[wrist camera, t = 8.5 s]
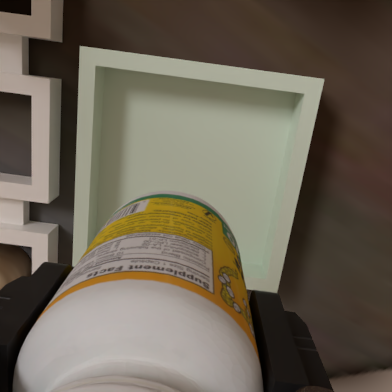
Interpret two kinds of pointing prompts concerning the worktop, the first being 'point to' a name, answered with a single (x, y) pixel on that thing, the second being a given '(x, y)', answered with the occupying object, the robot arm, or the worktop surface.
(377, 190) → the worktop surface
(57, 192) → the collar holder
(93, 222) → the sage tray
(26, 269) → the beech peg outer
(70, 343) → the supplement bottle
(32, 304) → the robot arm
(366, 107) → the worktop surface
